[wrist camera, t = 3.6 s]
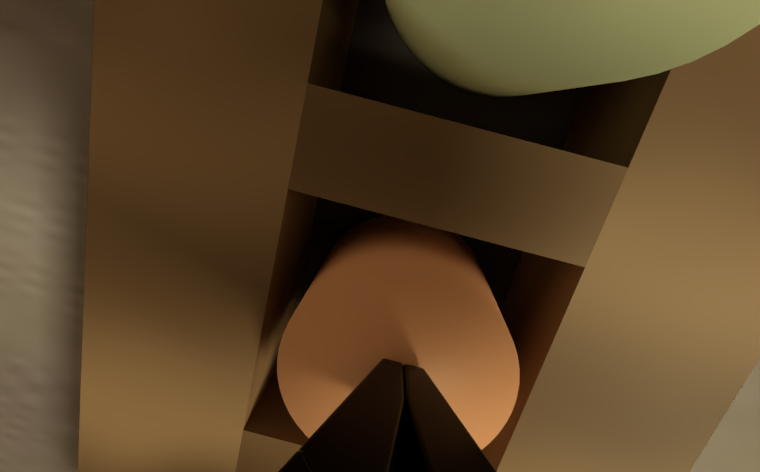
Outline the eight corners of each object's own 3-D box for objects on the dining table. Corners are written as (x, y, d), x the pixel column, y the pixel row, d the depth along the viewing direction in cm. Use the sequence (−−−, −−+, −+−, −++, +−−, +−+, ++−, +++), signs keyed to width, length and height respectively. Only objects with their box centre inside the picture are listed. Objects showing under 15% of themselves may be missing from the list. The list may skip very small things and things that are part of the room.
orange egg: (456, 383, 13) (475, 499, 9) (305, 343, 13) (259, 442, 9) (508, 239, 11) (557, 305, 8) (339, 194, 11) (301, 237, 8)
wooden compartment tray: (496, 613, 16) (519, 747, 13) (144, 520, 16) (72, 629, 13) (869, -128, 9) (1150, -275, 5) (227, -298, 9) (112, -550, 5)
